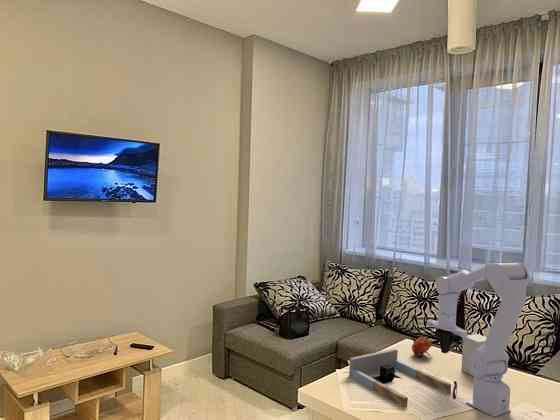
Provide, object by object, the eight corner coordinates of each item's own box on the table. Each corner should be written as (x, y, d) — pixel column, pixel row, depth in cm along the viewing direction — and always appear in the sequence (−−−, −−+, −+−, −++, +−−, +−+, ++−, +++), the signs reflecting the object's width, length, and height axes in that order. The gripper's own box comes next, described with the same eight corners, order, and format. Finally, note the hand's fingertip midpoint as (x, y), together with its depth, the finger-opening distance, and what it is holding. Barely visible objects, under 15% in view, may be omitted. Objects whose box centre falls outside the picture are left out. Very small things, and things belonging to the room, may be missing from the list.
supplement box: (492, 375, 155) (494, 340, 154) (476, 378, 152) (478, 342, 152) (476, 367, 162) (478, 333, 161) (460, 370, 159) (462, 335, 158)
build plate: (392, 373, 156) (393, 360, 156) (408, 381, 150) (409, 367, 149) (365, 379, 150) (366, 365, 149) (381, 387, 143) (381, 373, 143)
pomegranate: (430, 360, 174) (411, 340, 178) (442, 349, 170) (422, 328, 174) (422, 367, 168) (403, 346, 173) (433, 356, 164) (413, 335, 169)
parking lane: (450, 392, 141) (451, 373, 140) (403, 406, 130) (404, 386, 130) (393, 364, 162) (394, 348, 161) (349, 375, 151) (349, 358, 150)
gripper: (473, 316, 145) (471, 357, 145) (437, 305, 157) (435, 343, 158) (460, 319, 141) (457, 361, 142) (423, 308, 153) (421, 346, 154)
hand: (444, 352), depth 149 cm, fingers closed
